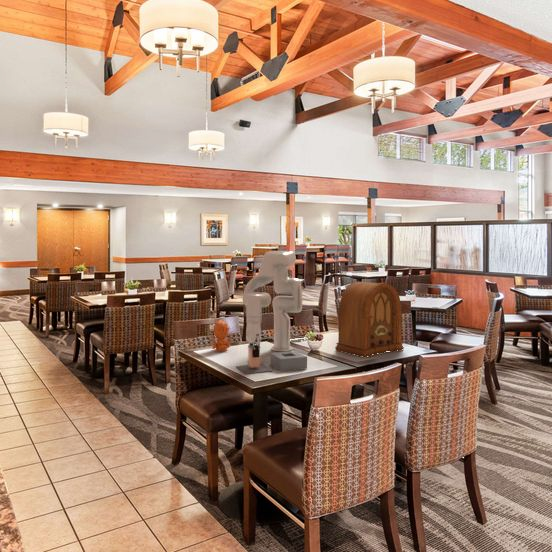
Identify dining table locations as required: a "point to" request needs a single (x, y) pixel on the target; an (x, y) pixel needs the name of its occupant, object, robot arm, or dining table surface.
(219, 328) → the toy dinosaur
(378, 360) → the dining table surface
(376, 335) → the radio
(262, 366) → the mat
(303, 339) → the clipboard
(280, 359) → the grey square base
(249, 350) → the peach cylinder
